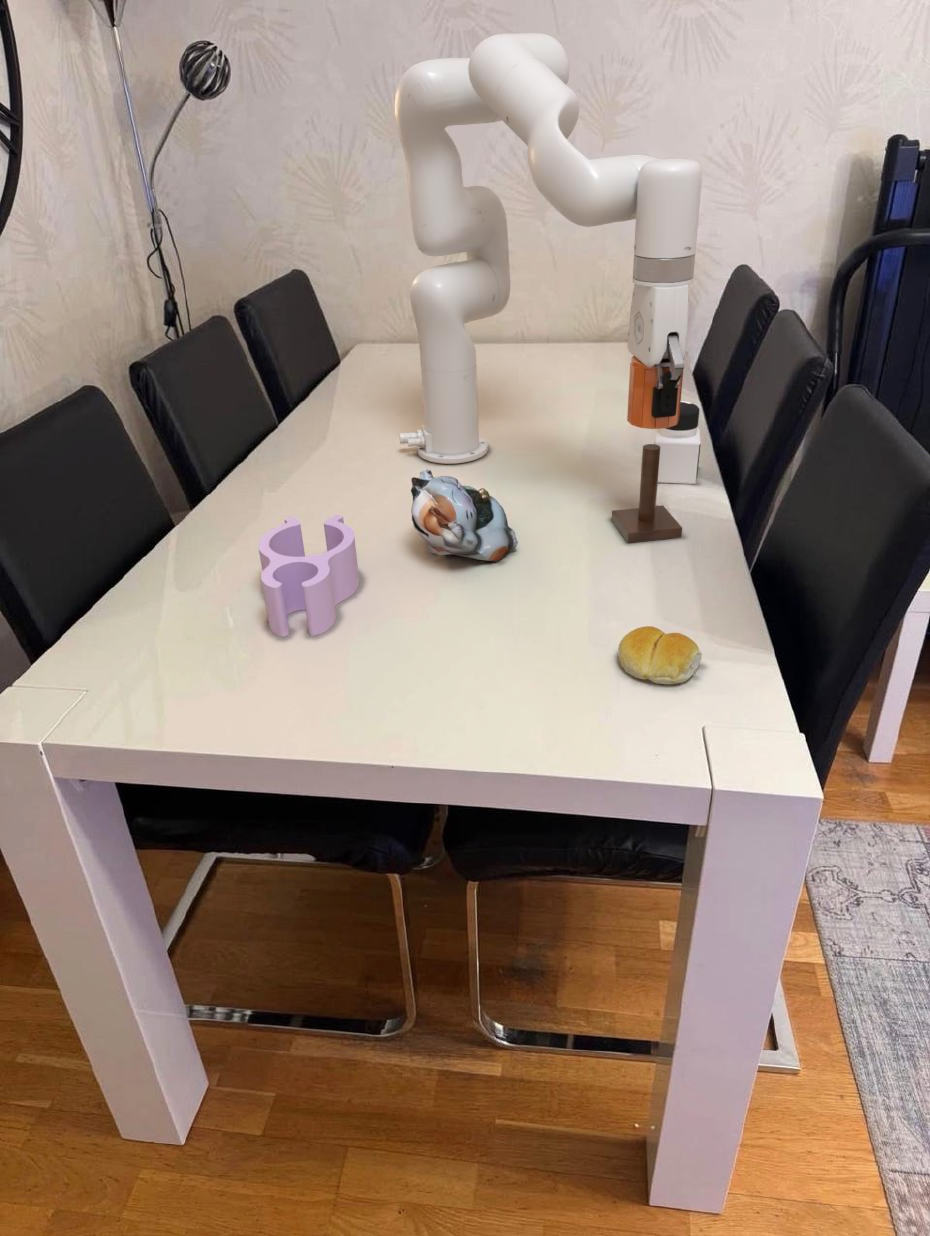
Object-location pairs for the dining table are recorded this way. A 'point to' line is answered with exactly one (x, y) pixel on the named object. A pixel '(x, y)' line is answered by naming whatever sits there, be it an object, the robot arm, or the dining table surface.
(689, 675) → the bread roll
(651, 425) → the cup
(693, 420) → the medicine bottle
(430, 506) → the lucky cat figurine
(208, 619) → the dining table surface
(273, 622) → the clip
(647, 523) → the stand
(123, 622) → the dining table surface
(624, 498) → the dining table surface
